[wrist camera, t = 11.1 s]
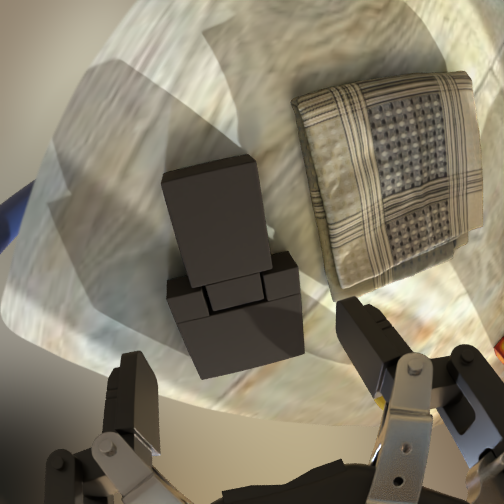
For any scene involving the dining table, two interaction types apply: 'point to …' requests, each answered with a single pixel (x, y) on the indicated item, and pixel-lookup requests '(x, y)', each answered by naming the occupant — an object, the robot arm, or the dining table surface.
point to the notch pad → (241, 322)
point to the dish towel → (391, 175)
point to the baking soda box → (500, 350)
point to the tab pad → (220, 228)
